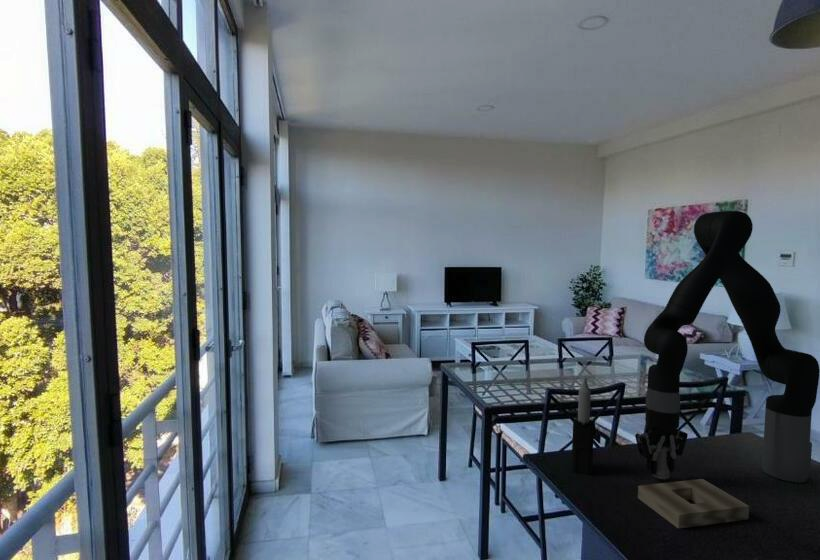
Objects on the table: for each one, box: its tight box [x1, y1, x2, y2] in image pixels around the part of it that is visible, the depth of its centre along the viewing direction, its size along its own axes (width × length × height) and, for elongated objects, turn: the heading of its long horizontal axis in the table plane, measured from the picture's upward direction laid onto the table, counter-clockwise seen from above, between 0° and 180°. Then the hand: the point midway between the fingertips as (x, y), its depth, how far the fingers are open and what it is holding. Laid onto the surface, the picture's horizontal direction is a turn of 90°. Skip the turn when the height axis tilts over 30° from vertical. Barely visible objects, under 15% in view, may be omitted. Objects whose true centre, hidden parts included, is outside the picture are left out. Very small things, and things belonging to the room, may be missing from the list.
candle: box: [570, 377, 595, 476], centre depth 118 cm, size 5×5×25 cm
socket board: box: [637, 478, 750, 529], centre depth 101 cm, size 18×12×3 cm, turn 102°
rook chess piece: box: [652, 445, 671, 480], centre depth 113 cm, size 4×4×8 cm
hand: (660, 471), depth 113 cm, fingers closed on rook chess piece, 4 cm apart
